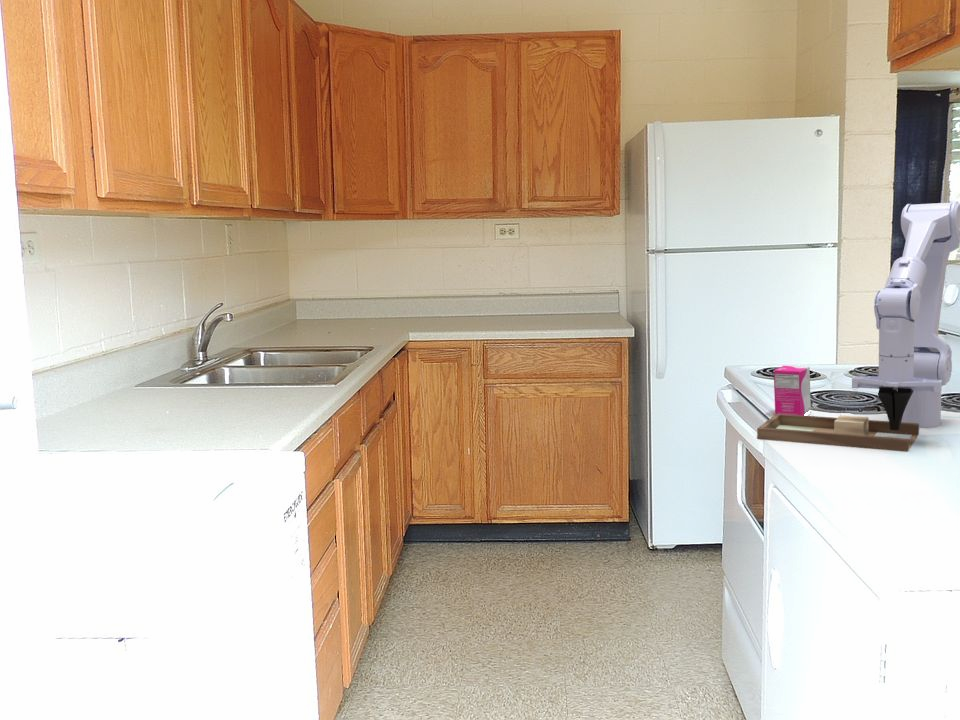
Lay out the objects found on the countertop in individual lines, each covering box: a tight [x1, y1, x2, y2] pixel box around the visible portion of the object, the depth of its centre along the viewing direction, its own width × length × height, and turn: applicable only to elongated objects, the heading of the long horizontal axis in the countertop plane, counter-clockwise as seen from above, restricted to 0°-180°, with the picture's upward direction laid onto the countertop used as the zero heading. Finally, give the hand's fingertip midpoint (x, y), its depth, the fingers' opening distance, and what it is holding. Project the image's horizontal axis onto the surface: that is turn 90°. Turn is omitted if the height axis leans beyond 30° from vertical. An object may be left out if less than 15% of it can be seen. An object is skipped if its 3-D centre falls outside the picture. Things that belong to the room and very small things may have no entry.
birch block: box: [834, 414, 870, 436], centre depth 165 cm, size 5×5×4 cm
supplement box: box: [773, 365, 812, 415], centre depth 185 cm, size 6×6×12 cm
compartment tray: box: [756, 413, 920, 452], centre depth 167 cm, size 13×26×4 cm, turn 56°
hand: (895, 428), depth 161 cm, fingers closed
